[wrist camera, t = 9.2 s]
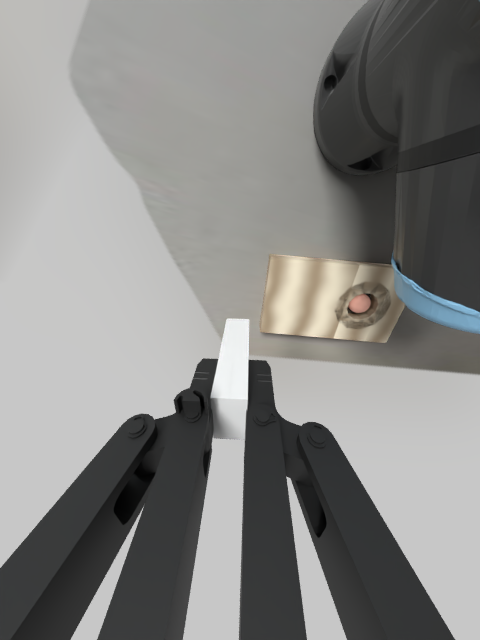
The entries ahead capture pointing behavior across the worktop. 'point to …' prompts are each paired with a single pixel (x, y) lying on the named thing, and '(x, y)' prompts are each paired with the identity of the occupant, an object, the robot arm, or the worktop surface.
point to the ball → (359, 303)
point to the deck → (329, 298)
